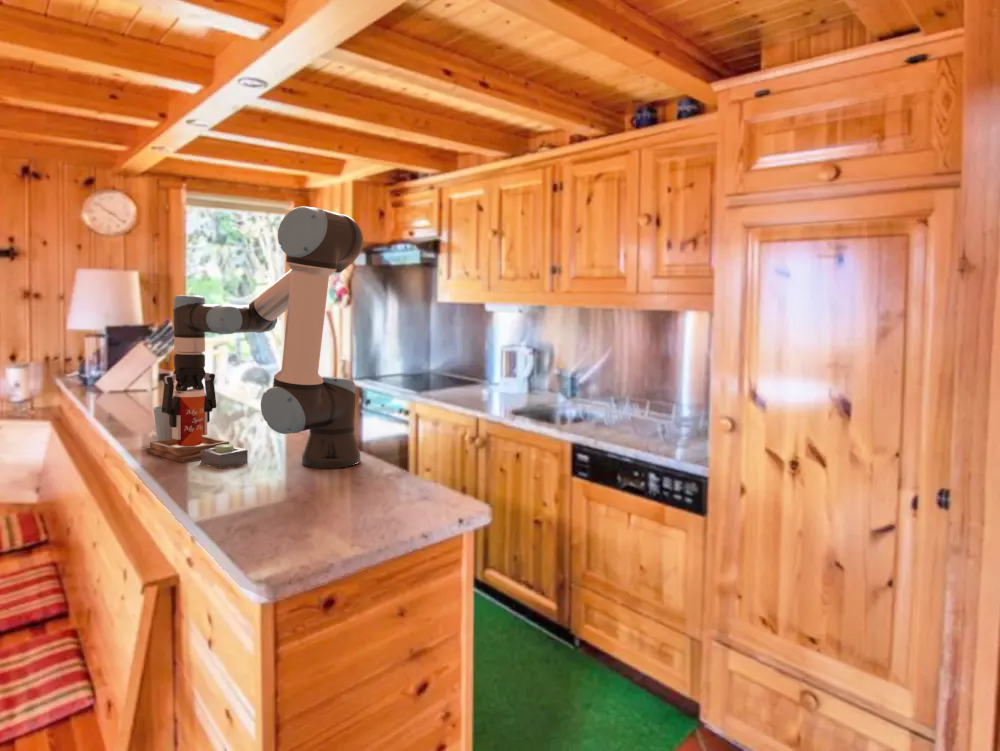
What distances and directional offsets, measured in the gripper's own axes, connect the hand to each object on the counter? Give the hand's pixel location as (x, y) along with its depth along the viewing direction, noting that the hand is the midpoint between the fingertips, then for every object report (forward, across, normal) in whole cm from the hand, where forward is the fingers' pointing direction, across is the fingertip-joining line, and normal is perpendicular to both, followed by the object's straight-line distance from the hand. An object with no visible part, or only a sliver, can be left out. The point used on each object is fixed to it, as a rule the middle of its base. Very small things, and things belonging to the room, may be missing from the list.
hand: (190, 436), depth 173 cm
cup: (+5, -2, -14) cm, 15 cm away
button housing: (+4, +1, +16) cm, 17 cm away
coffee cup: (+2, 0, 0) cm, 2 cm away
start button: (+4, +1, +16) cm, 17 cm away
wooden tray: (+4, 0, 0) cm, 4 cm away
